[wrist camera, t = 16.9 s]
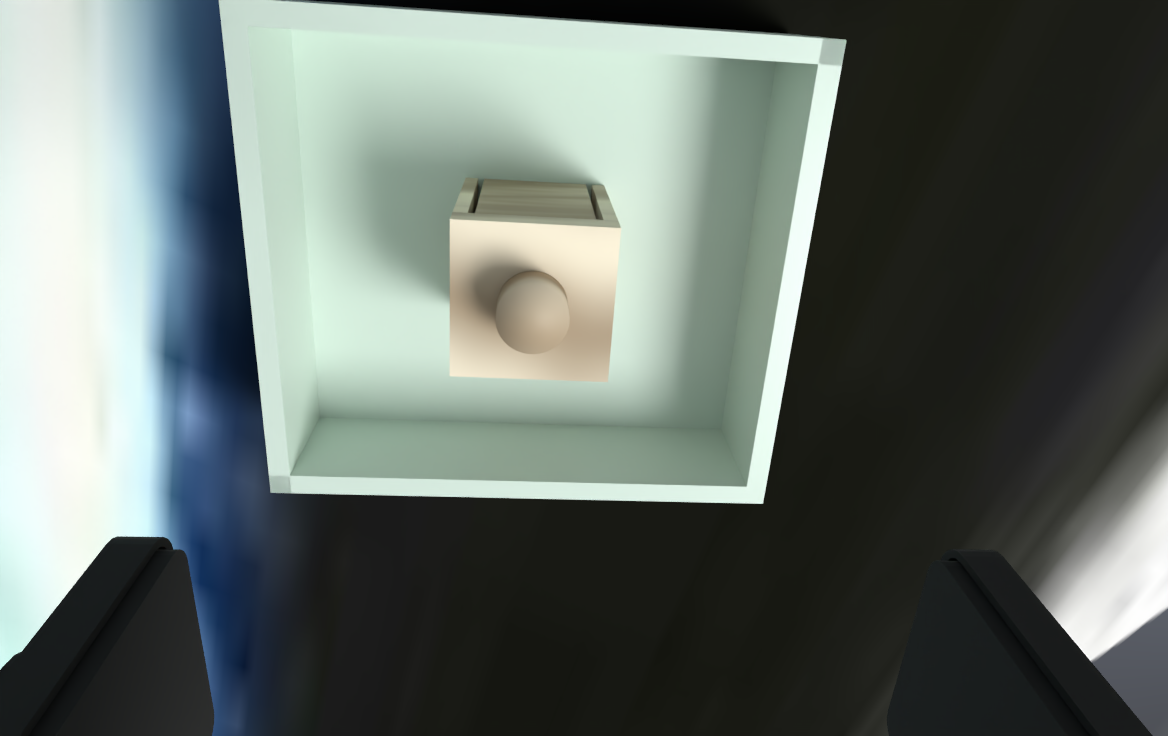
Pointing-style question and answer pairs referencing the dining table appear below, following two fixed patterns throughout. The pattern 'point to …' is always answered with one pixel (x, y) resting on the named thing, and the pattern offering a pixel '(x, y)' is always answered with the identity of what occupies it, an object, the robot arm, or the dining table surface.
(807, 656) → the dining table surface
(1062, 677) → the robot arm
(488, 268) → the drawer
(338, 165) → the bin
